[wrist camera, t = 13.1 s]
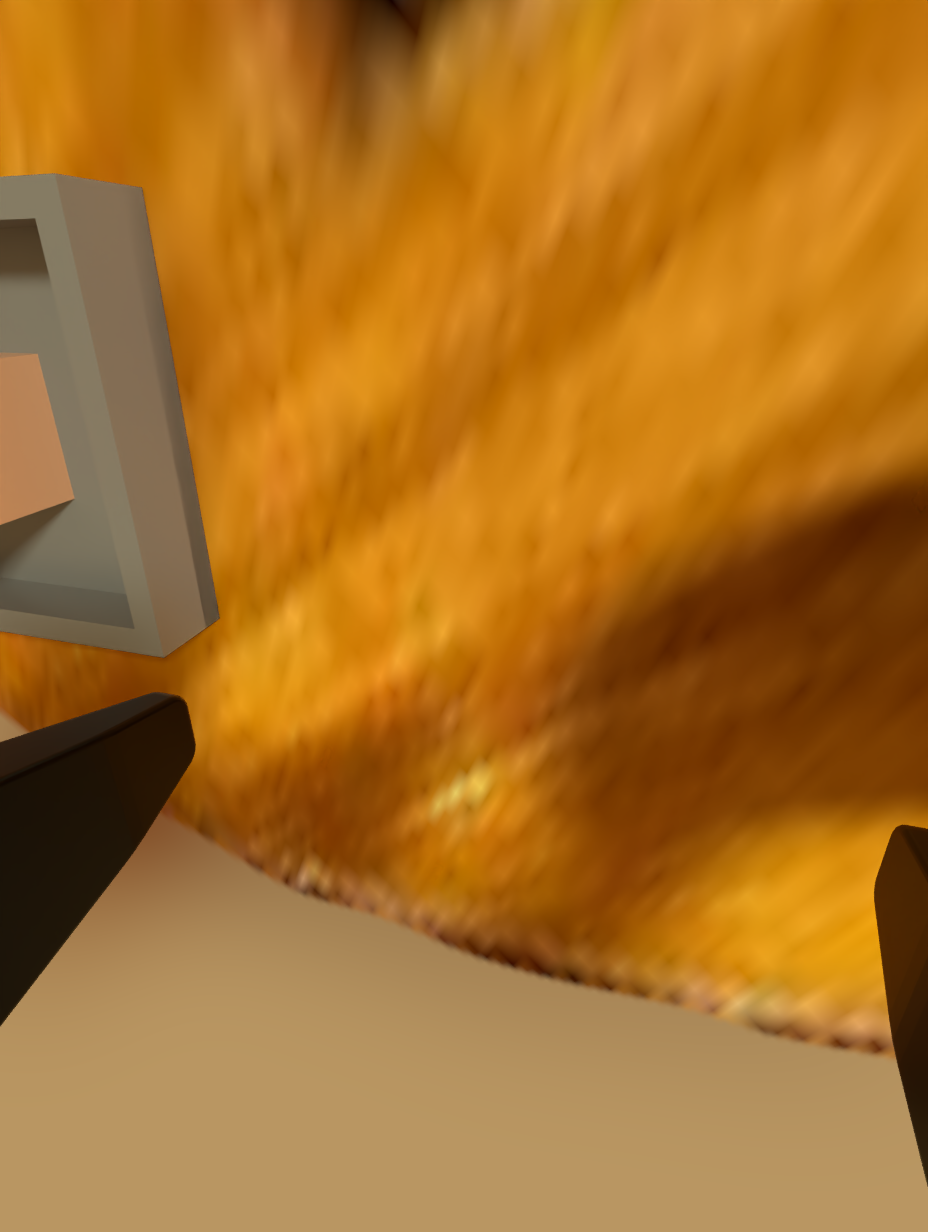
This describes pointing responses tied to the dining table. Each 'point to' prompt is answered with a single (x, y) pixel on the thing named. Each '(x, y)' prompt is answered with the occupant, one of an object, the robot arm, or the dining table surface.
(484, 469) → the dining table surface
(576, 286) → the dining table surface
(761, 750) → the dining table surface
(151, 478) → the tote
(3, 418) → the carton
